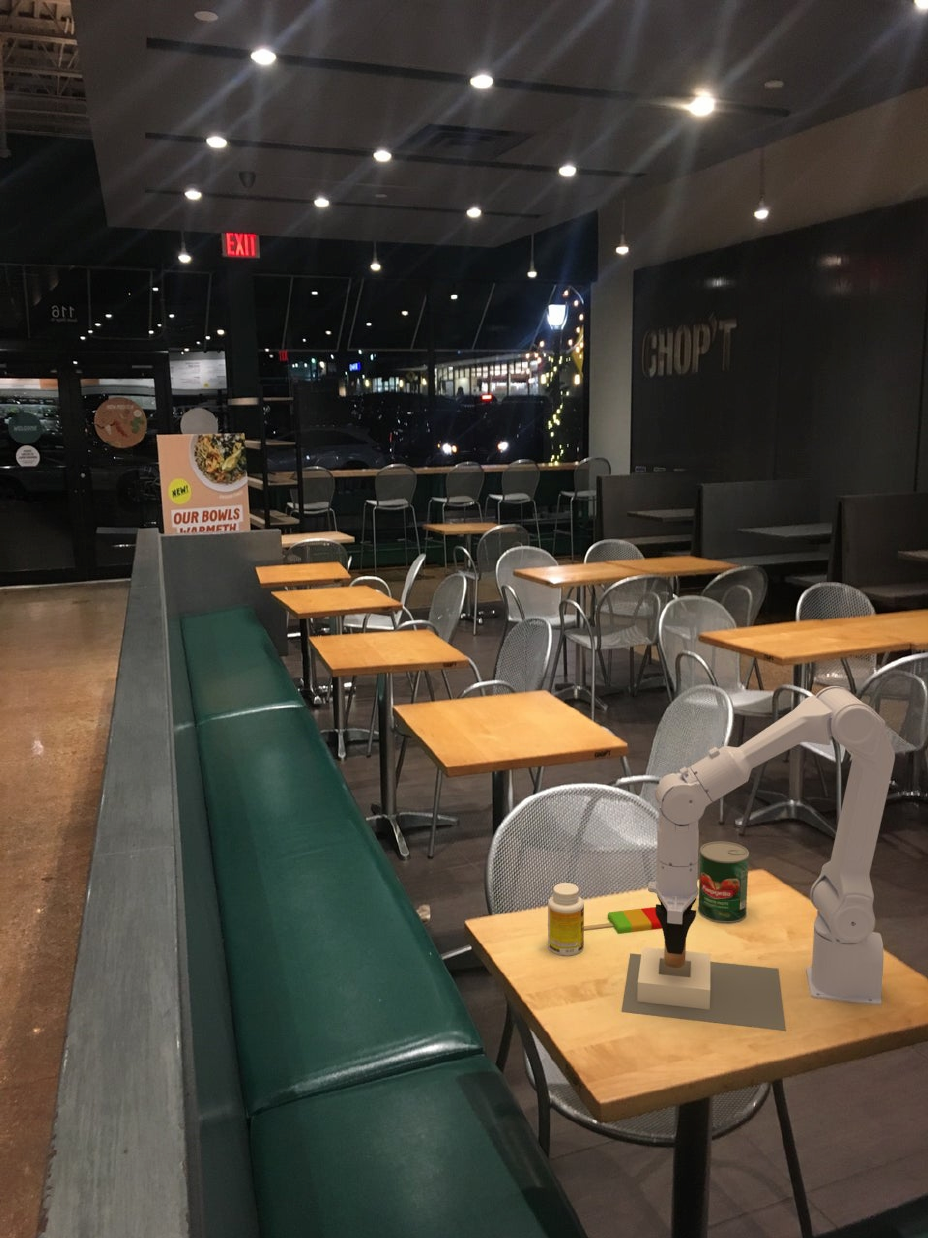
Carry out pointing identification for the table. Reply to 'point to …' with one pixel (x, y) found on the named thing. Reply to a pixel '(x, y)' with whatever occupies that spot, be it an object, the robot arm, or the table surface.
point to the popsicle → (630, 921)
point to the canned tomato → (723, 882)
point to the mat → (721, 997)
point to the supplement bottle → (566, 920)
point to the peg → (675, 958)
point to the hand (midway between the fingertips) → (675, 946)
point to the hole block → (674, 980)
